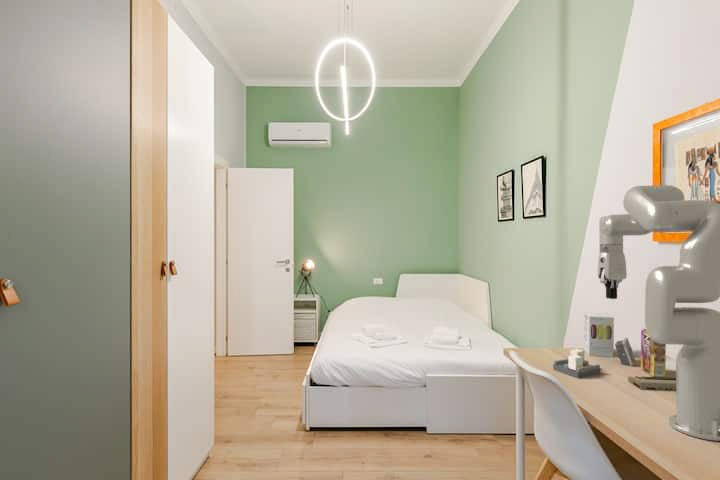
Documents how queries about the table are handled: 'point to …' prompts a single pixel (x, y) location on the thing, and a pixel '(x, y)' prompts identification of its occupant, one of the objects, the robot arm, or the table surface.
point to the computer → (654, 383)
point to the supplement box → (599, 334)
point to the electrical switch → (625, 352)
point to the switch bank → (579, 372)
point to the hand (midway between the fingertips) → (611, 298)
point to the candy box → (652, 356)
